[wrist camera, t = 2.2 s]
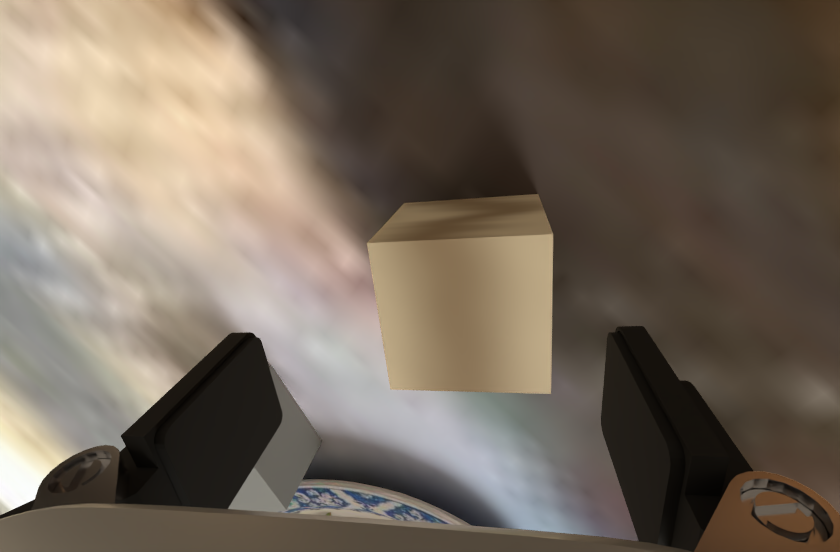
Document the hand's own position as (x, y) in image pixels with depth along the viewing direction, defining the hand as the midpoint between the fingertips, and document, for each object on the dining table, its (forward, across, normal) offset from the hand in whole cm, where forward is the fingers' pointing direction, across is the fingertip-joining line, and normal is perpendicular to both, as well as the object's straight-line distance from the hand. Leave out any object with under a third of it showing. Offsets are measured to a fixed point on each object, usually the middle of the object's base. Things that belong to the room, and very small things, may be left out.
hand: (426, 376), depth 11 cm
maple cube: (+10, -1, 0) cm, 10 cm away
